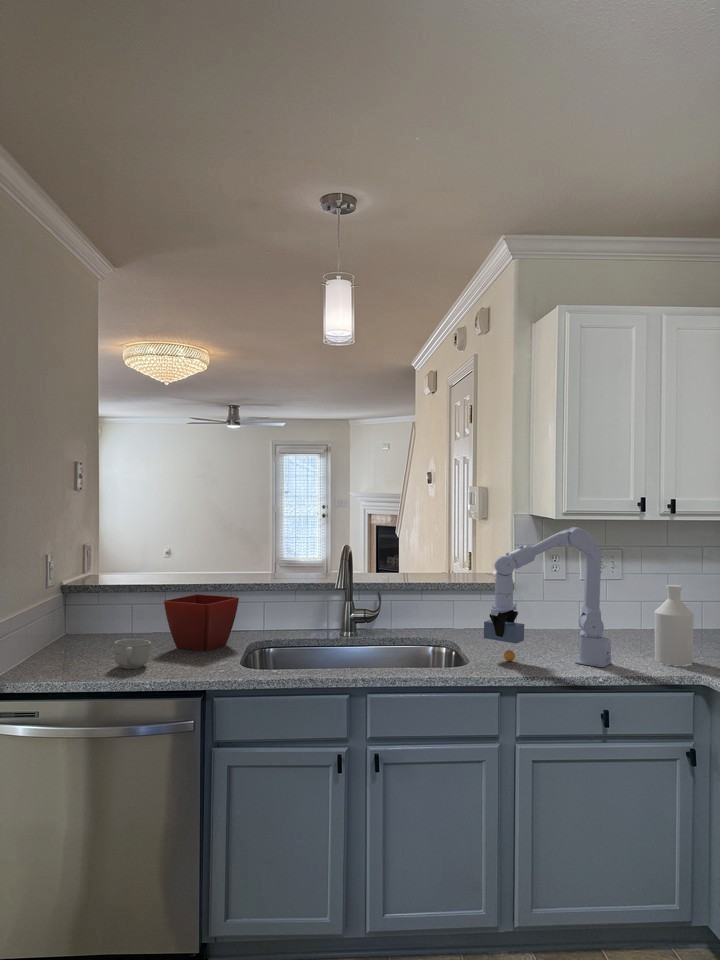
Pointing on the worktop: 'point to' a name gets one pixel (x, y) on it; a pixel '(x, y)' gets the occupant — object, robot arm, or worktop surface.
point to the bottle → (673, 630)
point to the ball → (509, 655)
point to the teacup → (131, 653)
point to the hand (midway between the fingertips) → (503, 634)
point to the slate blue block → (505, 632)
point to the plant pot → (201, 620)
